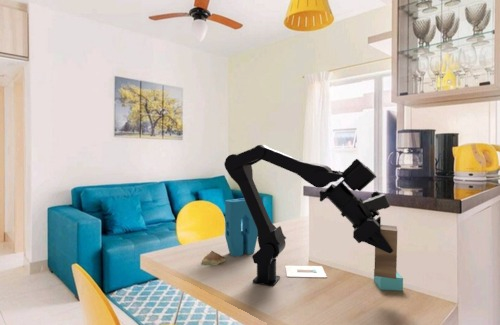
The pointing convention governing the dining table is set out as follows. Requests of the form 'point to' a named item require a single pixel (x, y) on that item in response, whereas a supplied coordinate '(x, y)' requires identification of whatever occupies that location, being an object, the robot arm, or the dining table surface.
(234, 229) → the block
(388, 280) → the teal base block
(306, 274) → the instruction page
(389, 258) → the walnut brick
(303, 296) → the dining table surface
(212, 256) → the shard
